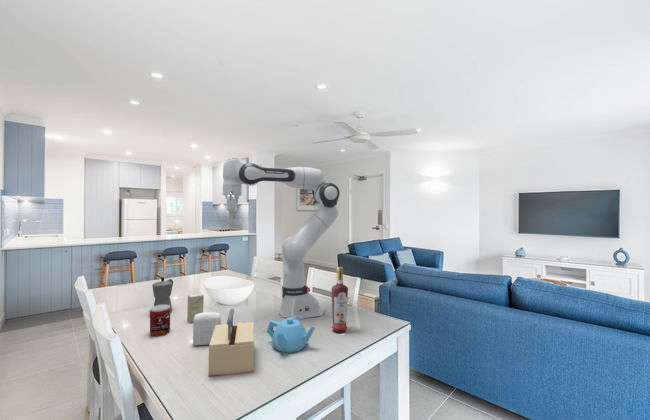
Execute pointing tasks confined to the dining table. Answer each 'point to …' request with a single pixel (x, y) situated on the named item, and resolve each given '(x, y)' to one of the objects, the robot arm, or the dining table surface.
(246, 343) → the carton
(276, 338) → the teapot
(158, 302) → the coffeepot
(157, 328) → the canned food
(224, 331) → the far flap
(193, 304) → the skincare box
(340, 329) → the liquor
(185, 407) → the dining table surface
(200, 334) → the photo printer
